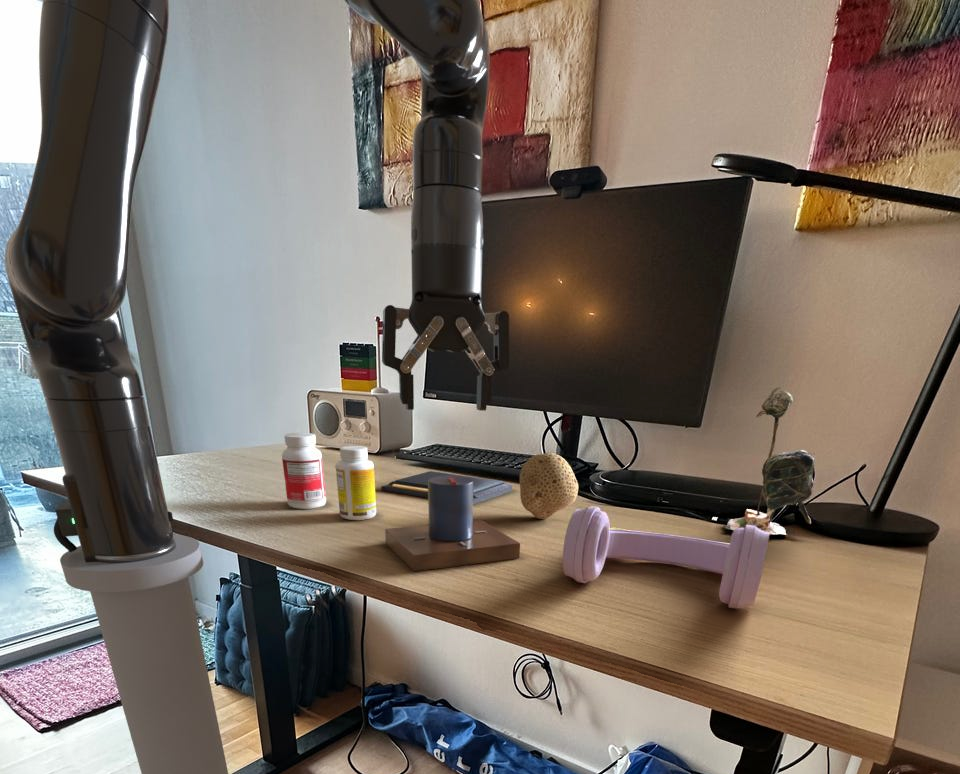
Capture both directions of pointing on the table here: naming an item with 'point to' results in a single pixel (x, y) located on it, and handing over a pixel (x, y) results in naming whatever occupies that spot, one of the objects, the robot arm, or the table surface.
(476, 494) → the dark blue book
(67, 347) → the robot arm
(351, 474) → the supplement bottle
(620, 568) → the table surface
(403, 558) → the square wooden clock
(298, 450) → the pill bottle
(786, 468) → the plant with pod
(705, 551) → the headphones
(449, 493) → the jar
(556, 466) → the natural sponge
